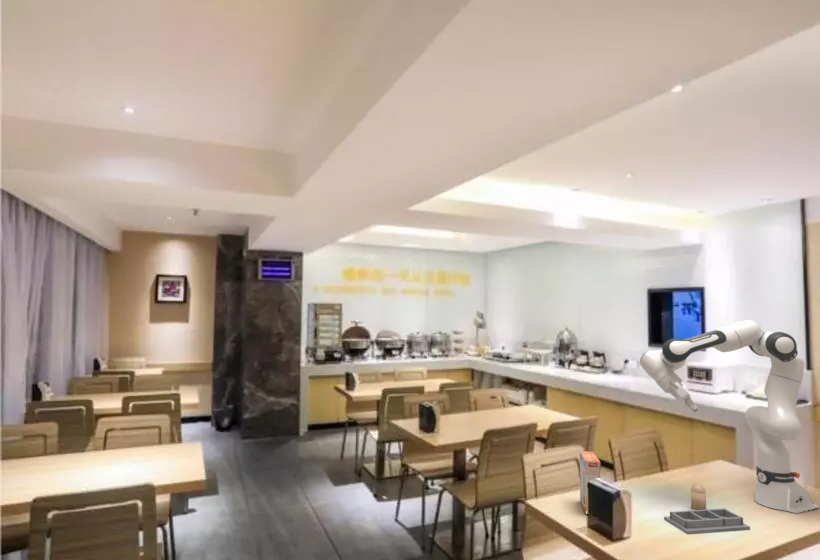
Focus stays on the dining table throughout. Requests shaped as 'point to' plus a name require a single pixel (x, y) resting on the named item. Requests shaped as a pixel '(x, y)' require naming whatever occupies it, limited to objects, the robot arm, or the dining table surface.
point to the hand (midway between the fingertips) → (696, 410)
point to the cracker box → (587, 473)
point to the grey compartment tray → (706, 521)
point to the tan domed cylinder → (698, 497)
